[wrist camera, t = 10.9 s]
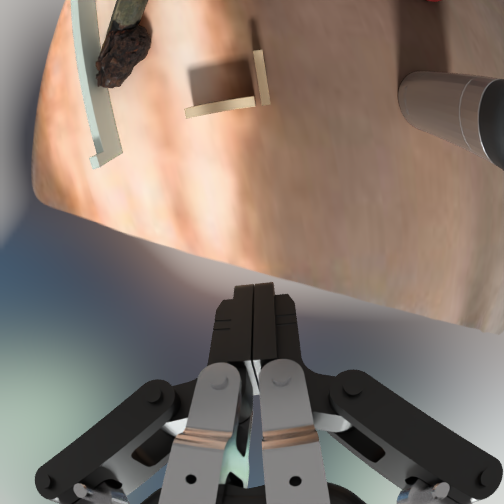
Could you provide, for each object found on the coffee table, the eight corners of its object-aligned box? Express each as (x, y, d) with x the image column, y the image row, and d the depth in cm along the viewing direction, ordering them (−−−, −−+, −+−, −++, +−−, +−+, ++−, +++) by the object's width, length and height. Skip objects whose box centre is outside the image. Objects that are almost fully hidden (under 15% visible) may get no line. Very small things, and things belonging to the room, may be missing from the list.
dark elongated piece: (132, -20, 20) (116, -31, 16) (176, -21, 21) (164, -35, 17) (103, 86, 30) (82, 89, 25) (143, 89, 31) (126, 90, 26)
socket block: (243, -39, 20) (241, -54, 16) (268, 102, 32) (270, 104, 28) (171, -24, 21) (160, -36, 17) (195, 114, 33) (186, 118, 29)
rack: (94, -7, 20) (69, -16, 15) (122, 152, 36) (99, 167, 30) (88, -4, 20) (62, -12, 15) (116, 154, 36) (92, 169, 30)
